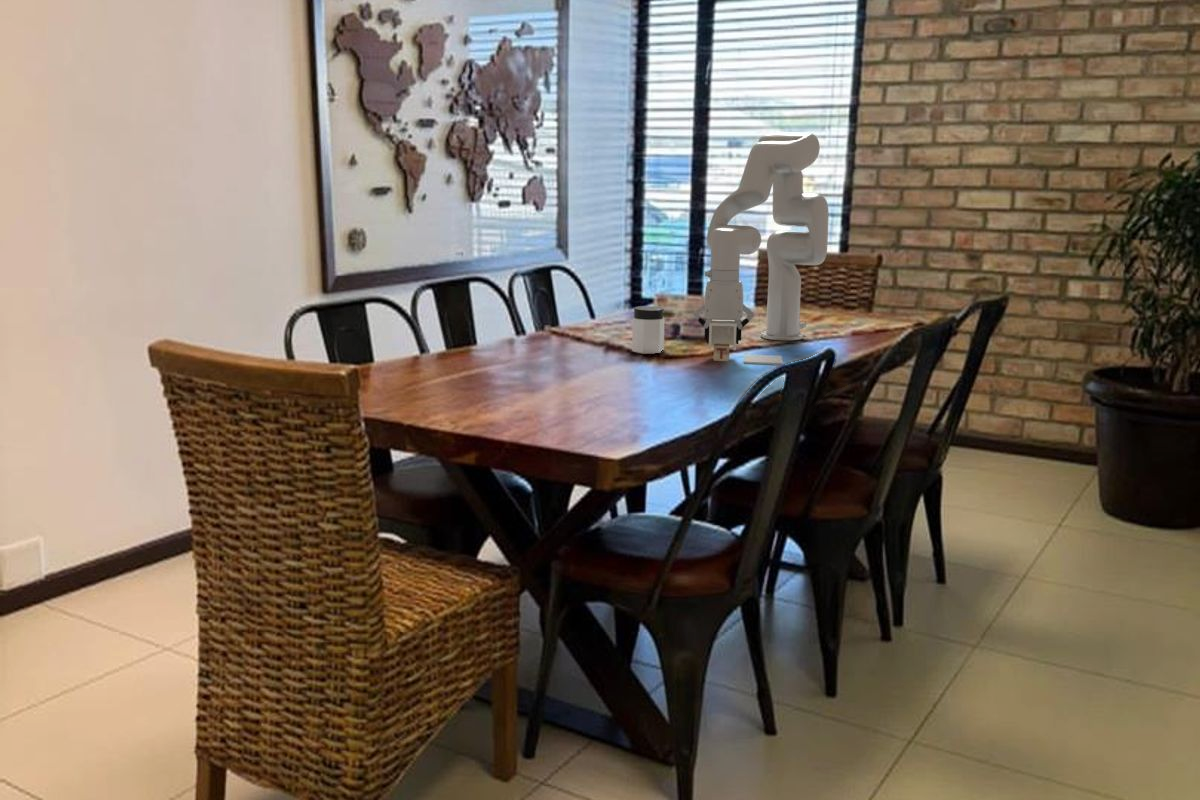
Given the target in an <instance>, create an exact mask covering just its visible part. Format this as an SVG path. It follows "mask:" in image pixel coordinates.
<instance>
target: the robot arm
mask: <svg viewBox="0 0 1200 800" xmlns="http://www.w3.org/2000/svg"><path fill="white" fill-rule="evenodd" d="M819 154H820V142H819V138H818V137H817V135H815V134H814V133H809V132H771V133H770V132H769V133H766V134H763V135H761V136H760V138H759V140H758V142H757V143H755V144H754V145H753V146H752V147H751V149H750V151H749V153H748V156H747V161H746V163H745V167H744V170H743V172H742V176H741V178H740V181H739V182H740V183H739V185H738V188H737V189H736V190H735V191H733V192H732V193H731V194H730V195H728V196H727V197H726V198H725V199H724V200H723V201H722V202H721V203H720V204H719V205H718V206H717V207H716V208H715V210H714V211H713V214H712V217H711V220H710V222H709V226H708V230H707V234H706V243H707V244H706V245H707V247H708V249H710V269H709V270H707V271H704V277H708V279H709V280H707V281H706V286H705V292H704V301H703V302H704V303H703V304H702V305H701V306H699V307H698V308H697V309H695V310H694V311H693V313H692V315H693V317H694V318H695V319H696V320H697V321H698V323H699V324H700V325H701V326H702V327H703V328H704V340H705V341H706V344H709V323H710V322H711V321H712V320H735V322H736V323H737V329H736V345H739V343H740V342H741V341H742V332H743V330H742V329H744V327H745V326H746V325H747V324H749V322H750V321H751V320H752V319H753V318H754V317H755V313H754V312H753V311H752V310H751V309H750V308H749V307H748V306H747V305H745V304H744V290H743V289H744V288H743V283H742V281H741V280H740V262H741V257H740V256H741V255H747V256H748V255H751V254H754V253H756V251H758V250H759V249H760V246H761V243H762V236H761V232H760V231H759V230H758V229H757V228H756V227H754V226H750V225H739V224H729V222H730V221H731V220H732V219H733V218H734V217H736V216H737V215H738V214H741V213H742V212H745V211H747V210H750V209H753V208H755V207H758V206H760V205H761V204H762V205H763V203H765V202H766V201H767V200H768V199H769V196H770V193H771V191H772V218H773V222H775V223H776V224H777V225H779V226H783V227H797V228H807V230H808V231H800V230H784V229H783V230H777V231H774V232H773V233H771V234H770V235H769V236H768V238H767V241H766V254H767V260H768V262H767V263H768V284H767V286H768V287H767V302H766V303H767V304H766V305H767V306H766V326H765V327H766V329H765V330H764V331H761V332H760V337H761V338H763V339H766V340H771V341H784V342H785V341H798V340H802V339H803V338H804V333H802V332H800V331H801V330H802V329H803V330H804V329H806V327H807V323H806V321H802V322H801V321H800V310H801V309H800V308H801V307H800V306H801V292H802V291H801V289H802V288H801V287H802V277H801V274H800V271H799V269H798V268H797V266H796V265H801V266H818V265H821V264H823V263H824V261H825V260H826V257H827V254H828V245H829V244H828V243H829V242H828V240H829V238H828V237H829V205H828V202H827V201H828V200H827V199H826V198H825V196H823V195H822V194H819V193H808V192H807V193H806V192H804V186H803V185H804V184H803V183H804V181H803V180H804V178H803V177H804V176H803V175H804V174H803V172H802V171H803V170H805V169H807V168H808V167H810V166H811V165H812V164H814V163H815V161H816V160H817V159H818V156H819ZM702 312H703V316H704V318H703V317H702V316H701V313H702ZM744 313H745V314H746V315H747V316H746V317H745V318H744V319H743V320H742V321H741V319H742V318H743V316H744ZM705 319H706V320H705ZM739 341H740V342H739Z"/></svg>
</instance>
